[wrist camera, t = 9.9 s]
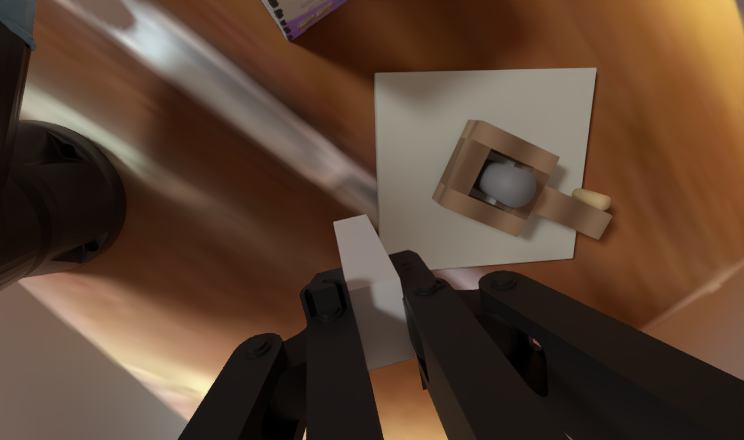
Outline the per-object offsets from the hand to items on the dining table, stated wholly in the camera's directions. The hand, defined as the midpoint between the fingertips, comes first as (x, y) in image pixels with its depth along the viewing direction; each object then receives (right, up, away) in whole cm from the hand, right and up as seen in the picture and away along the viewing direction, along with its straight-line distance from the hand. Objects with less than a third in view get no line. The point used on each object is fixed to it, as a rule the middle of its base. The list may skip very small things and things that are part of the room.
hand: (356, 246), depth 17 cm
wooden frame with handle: (+17, +5, +26) cm, 32 cm away
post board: (+13, +6, +27) cm, 31 cm away
